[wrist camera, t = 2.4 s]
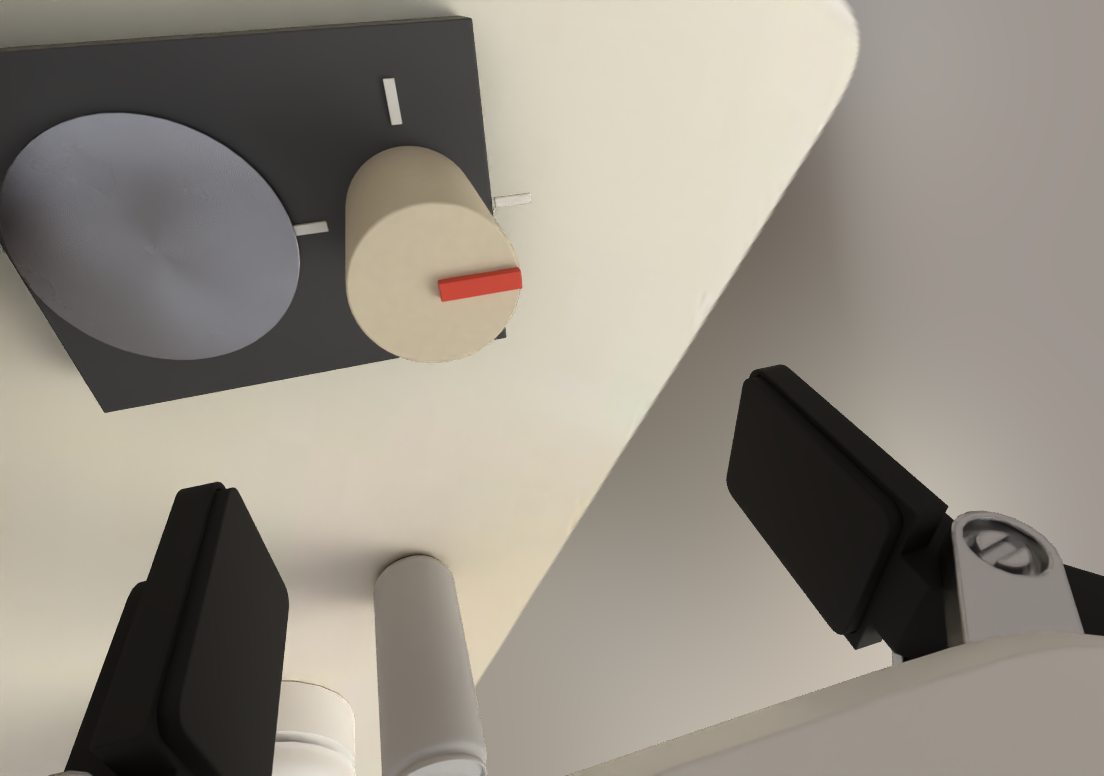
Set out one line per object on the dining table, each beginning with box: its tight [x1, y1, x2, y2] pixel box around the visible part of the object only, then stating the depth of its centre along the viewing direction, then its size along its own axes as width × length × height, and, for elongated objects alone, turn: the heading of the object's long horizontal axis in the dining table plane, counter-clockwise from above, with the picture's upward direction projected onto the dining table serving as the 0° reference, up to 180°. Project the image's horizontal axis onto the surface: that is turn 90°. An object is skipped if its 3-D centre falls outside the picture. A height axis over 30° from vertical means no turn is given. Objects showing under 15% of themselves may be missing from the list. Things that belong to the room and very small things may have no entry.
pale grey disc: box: [0, 111, 301, 360], centre depth 20 cm, size 9×9×1 cm
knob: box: [345, 146, 522, 363], centre depth 19 cm, size 5×5×7 cm
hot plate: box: [0, 16, 531, 413], centre depth 22 cm, size 18×12×3 cm
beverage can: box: [374, 555, 487, 776], centre depth 31 cm, size 5×5×12 cm
